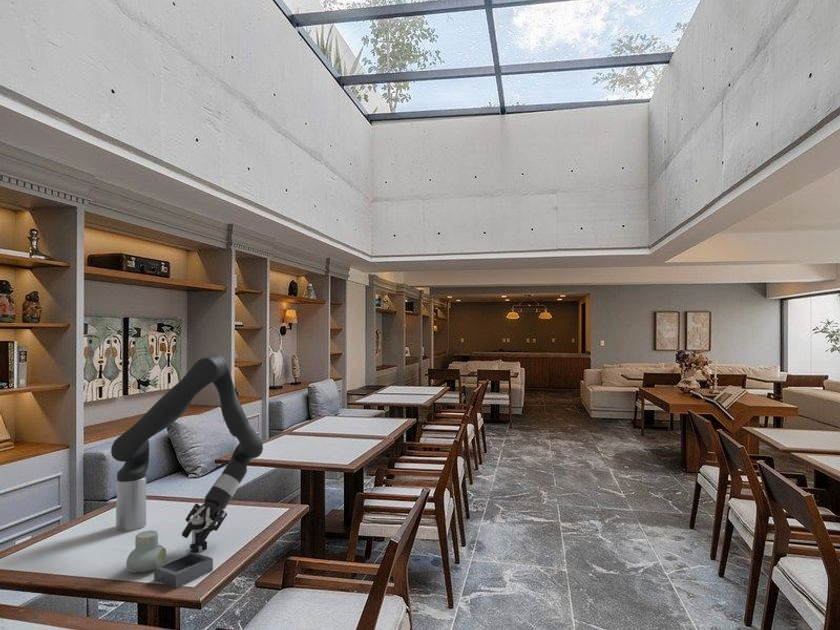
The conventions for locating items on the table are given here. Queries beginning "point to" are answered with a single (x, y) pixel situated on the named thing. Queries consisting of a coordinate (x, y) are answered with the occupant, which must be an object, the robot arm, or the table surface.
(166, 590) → the table surface
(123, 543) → the table surface
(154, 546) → the air freshener
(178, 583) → the square socket
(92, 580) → the table surface
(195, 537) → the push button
